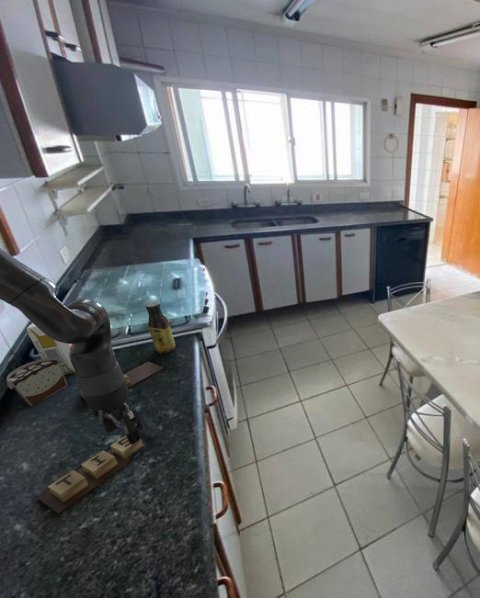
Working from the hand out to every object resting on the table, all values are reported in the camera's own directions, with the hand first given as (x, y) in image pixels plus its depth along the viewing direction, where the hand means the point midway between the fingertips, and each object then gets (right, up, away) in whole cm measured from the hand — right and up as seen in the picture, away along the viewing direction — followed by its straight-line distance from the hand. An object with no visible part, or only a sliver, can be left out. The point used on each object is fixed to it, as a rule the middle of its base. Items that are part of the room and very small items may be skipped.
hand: (124, 435), depth 82 cm
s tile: (0, -4, +2) cm, 5 cm away
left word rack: (-3, -7, -3) cm, 8 cm away
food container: (-39, +5, +18) cm, 44 cm away
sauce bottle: (-19, +14, +42) cm, 49 cm away
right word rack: (-20, +7, +25) cm, 33 cm away
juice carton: (-42, +10, +28) cm, 52 cm away
